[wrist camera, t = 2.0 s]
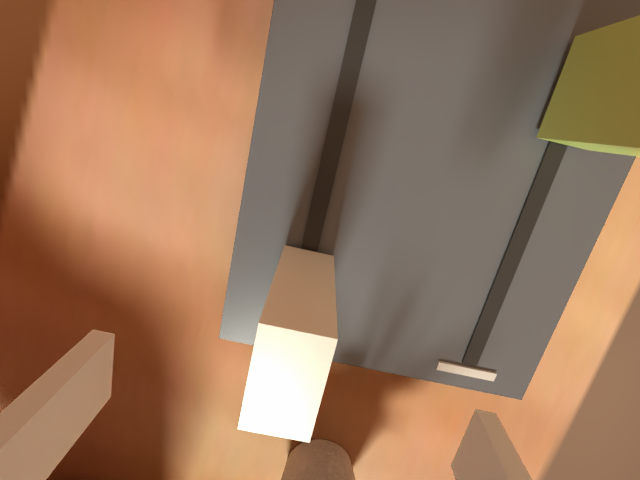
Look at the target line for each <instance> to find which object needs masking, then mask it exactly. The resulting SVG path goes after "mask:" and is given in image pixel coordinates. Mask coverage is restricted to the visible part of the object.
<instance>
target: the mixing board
mask: <svg viewBox="0 0 640 480" xmlns="http://www.w3.org/2000/svg"><path fill="white" fill-rule="evenodd" d="M639 15H640V0H274V5H273V11H272V17H271V23H270V30H269V36H268V42H267V48H266V54H265V60H264V66H263V72H262V78H261V84H260V91H259V97H258V103H257V109H256V115H255V121H254V127H253V133H252V139H251V145H250V152H249V158H248V164H247V170H246V176H245V182H244V188H243V194H242V200H241V206H240V212H239V219H238V225H237V231H236V237H235V243H234V249H233V255H232V261H231V267H230V273H229V280H228V286H227V292H226V298H225V304H224V310H223V316H222V322H221V328H220V334H219V338H220V339H225V340H230V341H235V342H240V343H245V344H249V345H254V343H255V338H256V333H257V328H258V323H259V320H260V317H261V314H262V311H263V308H264V305H265V302H266V299H267V296H268V293H269V290H270V287H271V284H272V281H273V278H274V275H275V272H276V269H277V266H278V263H279V260H280V257H281V254H282V251H283V248H284V245H286V246H291V247H295V248H300V249H304V250H309V251H314V252H318V253H323V254H327V255H332V256H334V268H335V289H336V309H337V330H338V341H337V345H336V348H335V352H334V356H333V359H332V361H333V362H338V363H343V364H348V365H353V366H358V367H363V368H367V369H372V370H377V371H382V372H387V373H392V374H397V375H402V376H407V377H412V378H417V379H422V380H426V381H431V382H436V383H441V384H446V385H451V386H456V387H461V388H466V389H471V390H476V391H481V392H485V393H490V394H495V395H500V396H505V397H510V398H515V399H520V400H522V398H523V396H524V394H525V392H526V389H527V387H528V385H529V383H530V381H531V379H532V377H533V375H534V372H535V370H536V368H537V366H538V364H539V362H540V360H541V358H542V355H543V353H544V351H545V349H546V347H547V345H548V343H549V341H550V338H551V336H552V334H553V332H554V330H555V328H556V326H557V324H558V321H559V319H560V317H561V315H562V313H563V311H564V309H565V307H566V304H567V302H568V300H569V298H570V296H571V294H572V292H573V290H574V287H575V285H576V283H577V281H578V279H579V277H580V275H581V273H582V270H583V268H584V266H585V264H586V262H587V260H588V258H589V256H590V253H591V251H592V249H593V247H594V245H595V243H596V241H597V239H598V236H599V234H600V232H601V230H602V228H603V226H604V224H605V222H606V219H607V217H608V215H609V213H610V211H611V209H612V207H613V205H614V202H615V200H616V198H617V196H618V194H619V192H620V190H621V188H622V185H623V183H624V181H625V179H626V177H627V175H628V173H629V171H630V168H631V166H632V164H633V162H634V160H635V158H636V156H629V155H621V154H613V153H605V152H597V151H590V150H585V149H581V148H577V147H573V146H568V145H564V144H560V143H556V142H552V141H548V140H543V139H539V138H536V137H537V134H538V131H539V129H540V126H541V124H542V121H543V118H544V116H545V113H546V111H547V108H548V106H549V103H550V100H551V98H552V95H553V93H554V90H555V87H556V85H557V82H558V80H559V77H560V74H561V72H562V69H563V67H564V64H565V61H566V59H567V56H568V54H569V51H570V48H571V46H572V43H573V41H574V38H575V36H577V35H581V34H584V33H587V32H590V31H593V30H596V29H599V28H602V27H605V26H608V25H611V24H614V23H617V22H620V21H623V20H626V19H629V18H633V17H636V16H639Z"/></svg>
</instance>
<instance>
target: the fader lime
mask: <svg viewBox="0 0 640 480" xmlns="http://www.w3.org/2000/svg"><path fill="white" fill-rule="evenodd" d="M536 138H539V139H543V140H548V141H552V142H556V143H560V144H564V145H568V146H573V147H577V148H581V149H585V150H590V151H597V152H605V153H613V154H621V155H629V156H637V157H640V15H639V16H636V17H633V18H629V19H626V20H623V21H620V22H617V23H614V24H611V25H608V26H605V27H602V28H599V29H596V30H593V31H590V32H587V33H584V34H581V35H577V36H575V38H574V41H573V43H572V46H571V48H570V51H569V54H568V56H567V59H566V61H565V64H564V67H563V69H562V72H561V74H560V77H559V80H558V82H557V85H556V87H555V90H554V93H553V95H552V98H551V100H550V103H549V106H548V108H547V111H546V113H545V116H544V118H543V121H542V124H541V126H540V129H539V131H538V134H537V137H536Z"/></svg>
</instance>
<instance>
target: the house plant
mask: <svg viewBox="0 0 640 480" xmlns="http://www.w3.org/2000/svg"><path fill="white" fill-rule="evenodd" d="M281 480H355V476H354V472H353V468H352V464H351V460H350V457H349V455H348V454H347V452H346V451H345V450H344V449H343V448H342V447H341V446H340V445H338V444H336V443H334V442H331V441H328V440H321V439H315V440H310V443H307V442H303V443H301V444H299V445H298V446H296V447H295V448H294V449H293V450H292V451H291V452H290V455H289V457H288V459H287V463H286V466H285V469H284V472H283V476H282V479H281Z"/></svg>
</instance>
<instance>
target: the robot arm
mask: <svg viewBox="0 0 640 480" xmlns="http://www.w3.org/2000/svg"><path fill="white" fill-rule="evenodd" d="M114 340H115V334H114V333H109V332H104V331H99V330H94V329H93V330H92V331H90V332H89V333H88V334H87V335H86V336H85V337H84V338H83V339H82V340H80V341H79V342H78V343H77V344H76V345H75V346H74V347H73V348H72V349H70V350H69V351H68V352H67V353H66V354H65V355H64V356H63V357H61V358H60V359H59V360H58V361H57V362H56V363H55V364H54V365H53V366H51V367H50V368H49V369H48V370H47V371H46V372H45V373H44V374H43V375H41V376H40V377H39V378H38V379H37V380H36V381H35V382H34V383H33V384H31V385H30V386H29V387H28V388H27V389H26V390H25V391H24V392H23V393H21V394H20V395H19V396H18V397H17V398H16V399H15V400H14V401H13V402H11V403H10V404H9V405H8V406H7V407H6V408H5V409H4V410H2V411H1V412H0V480H46V479H47V478H48V477H49V475H50V474H51V473H52V471H53V470H54V469H55V468H56V466H57V465H58V464H59V463H60V461H61V460H62V459H63V457H64V456H65V455H66V454H67V452H68V451H69V450H70V448H71V447H72V446H73V445H74V443H75V442H76V441H77V440H78V438H79V437H80V436H81V434H82V433H83V432H84V431H85V429H86V428H87V427H88V426H89V424H90V423H91V422H92V420H93V419H94V418H95V417H96V415H97V414H98V413H99V411H100V410H101V409H102V408H103V406H104V405H105V404H106V403H107V401H108V400H109V399H110V397H111V389H112V373H113V357H114ZM451 467H452V470H453V473H454V476H455V479H456V480H532V479H531V477H530V475H529V473H528V471H527V470H526V468H525V466H524V464H523V462H522V460H521V459H520V457H519V455H518V453H517V451H516V449H515V448H514V446H513V444H512V442H511V440H510V438H509V437H508V435H507V433H506V431H505V429H504V427H503V426H502V424H501V422H500V420H499V418H498V416H497V414H496V413H492V412H487V411H483V410H478V409H475V412H474V414H473V416H472V418H471V421H470V423H469V425H468V428H467V430H466V432H465V434H464V437H463V439H462V441H461V444H460V446H459V448H458V450H457V453H456V455H455V457H454V459H453V462H452V464H451Z"/></svg>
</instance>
